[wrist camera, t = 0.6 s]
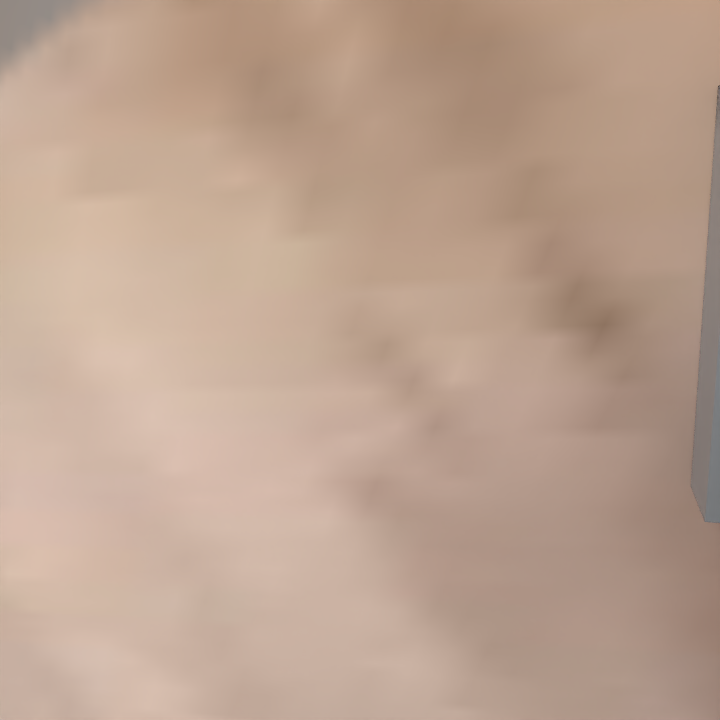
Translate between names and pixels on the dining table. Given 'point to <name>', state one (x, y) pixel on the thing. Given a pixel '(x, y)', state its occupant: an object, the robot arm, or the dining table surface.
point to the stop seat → (710, 362)
